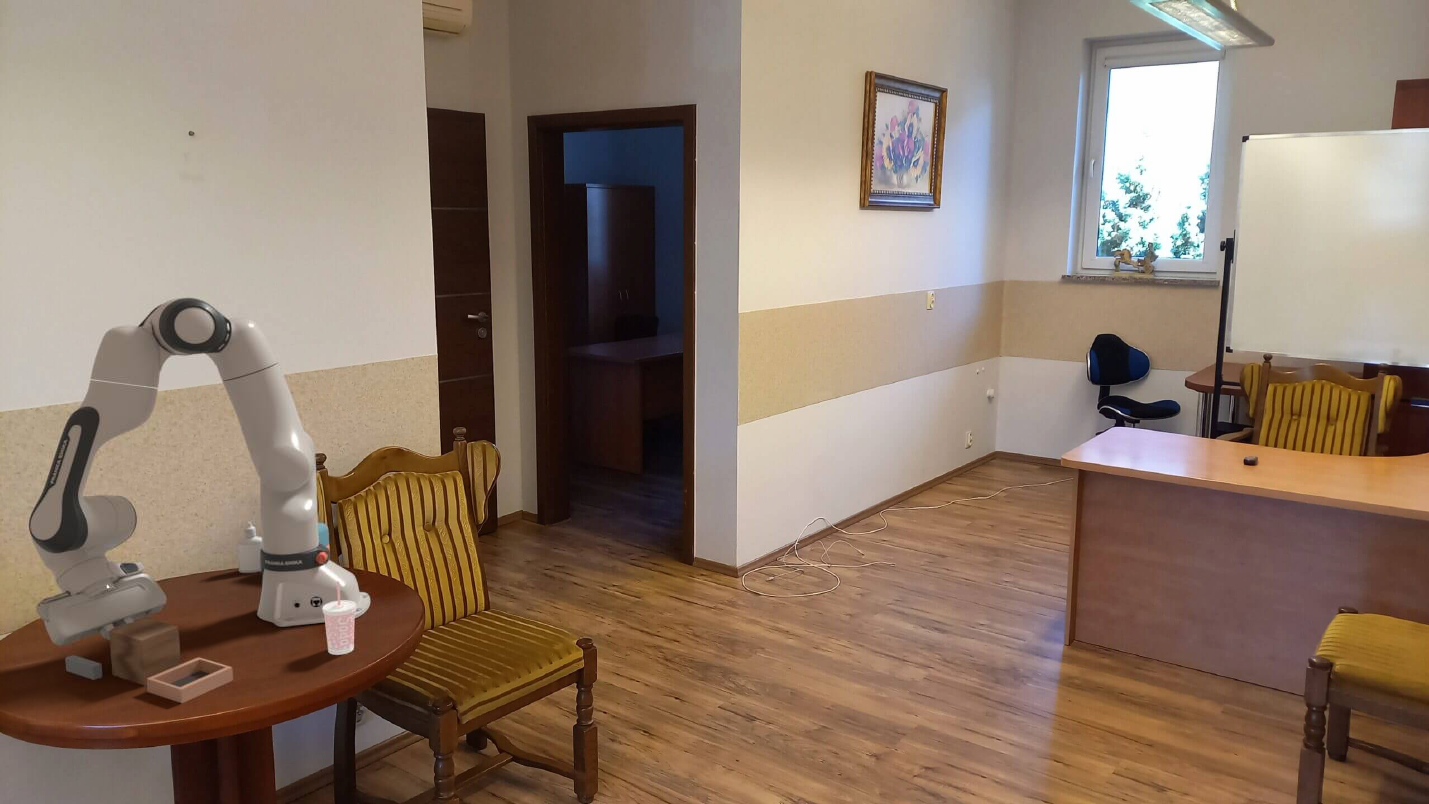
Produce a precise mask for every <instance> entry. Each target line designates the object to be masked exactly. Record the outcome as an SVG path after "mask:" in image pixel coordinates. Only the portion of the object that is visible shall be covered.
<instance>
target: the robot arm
mask: <svg viewBox="0 0 1429 804" xmlns="http://www.w3.org/2000/svg"><path fill="white" fill-rule="evenodd" d="M199 354H200V355H201V354H205V355H206V356H208V357H209V358H210V359H211V361H213V363H214V366H216V369H217V371H218V373H219V376H220V379H221V381H222V384H223V386H224V388H225V391H226V393H227V395H228V397H229V398H228V399H229V400H230V403H231V405H232V407H233V410H234V412H235V415H236V417H237V420H238V423H239V426H240V429H241V431H242V435H243V438H244V440H245V444H246V447H247V449H248V452H249V455H250V458H251V461H252V463H253V466H254V468H255V471H256V473H257V477H259V481H260V482H259V486H260V487H259V491H260V492H259V493H260V499H259V500H260V502H259V503H260V504H259V505H260V506H259V507H260V509H259V511H260V528H261V529H260V531H261V538H262V549H261V550H260V569H261V572H260V573H261V575H262V584H261V585H262V587H261V594H260V598H259V599H260V601H259V605H258V609H257V612H256V615H257V616H258V617H259V619H261V620H263V621H266V622H269V623H273V625H275V626H277V627H280V628H282V627H284V628H285V627H292V626H301V625H310V624H311V625H312V624H320V623H325V617H324V613H323V610H322V608H323V606H324V605H325V604H327V603H330V602H334V601H338V595H337V581H340V601H341V600H347V601H353V602H355V603H356V610H355V619H357V618H359V617H361V616H362V615H364V614H365V612H367V610H368V609H369V607H370V605H371V596H370V595H369V594H368V593H367V592H364V591H362V592H361V591H360V589H359V583H358V581H357V578H356V576H355V574H353V572H350V571H349V570H347V569H346V568H343V567H342V566H340V565H338V563H335V562H334V561H332V560H331V559H330V560H329V553H330V551H331V550H330V549H331V548H330V544H329V545H328V546H327V547H325V546H324V545H322V544H321V543H319V535H318V523H319V517H318V492H317V491H318V489H317V463H316V461H317V459H316V446H315V443H314V441H313V438H312V437H311V435H309V433H307V432H306V431H305V430H304V427H303V424H302V421H301V418H300V416H299V413H298V410H297V407H296V404H295V401H294V397H293V395H292V392H291V390H290V388H289V385H288V383H287V381H286V380H287V379H286V378H285V376H284V373H283V371H282V369H281V366H280V364H279V361H278V358H277V356H276V354H275V352H274V350H273V348H272V346H271V344H270V342H269V341H268V338H267V337H266V335H265V333H264V332H263V330H262V329H261V328H260V326H259V325H258V324H257V322H255V320H252V319H250V318H247V317H232V318H227V317H226V316H225V315H224V314H222V313H221V312H220V311H218V310H217V309H216V308H215V307H214V306H212V305H211V304H210V303H208V302H206V301H204V300H201V299H199V298H195V297H194V298H193V297H179V298H173V299H169V300H166V301H165V302H163V303H161V304H159V305H157V306H156V307H155V308H153V310H151V311H150V312H149V314H148V315H147V316H146V317H145V318H144V319H143V320H142V321H141V322H140V323H139V325H137V326H136V325H120V326H116V327H112V328H109V330H107V331H106V332H105V334H104V335H103V337H102V339H101V342H100V344H99V347H98V349H97V352H96V356H95V358H94V363H93V365H92V366H93V367H92V370H91V374H90V380H89V386H88V389H87V392H86V393H85V397H84V398H83V401H82V403H81V404H80V406H78V409H77V410H75V411H73V413H72V414H71V415H70V416H69V418H68V419H67V421H66V423H65V426H64V427H63V431H62V433H61V435H60V439H59V442H58V445H57V446H56V448H57V449H56V451H55V453H54V457H53V460H52V463H51V465H50V469H49V473H48V476H47V479H46V481H45V485H44V487H43V490H42V492H41V495H40V496H39V499H37V502H36V504H35V505H34V506H33V507H34V508H33V509H32V511H31V514H30V517H29V521H28V530H29V533H30V537H31V540H32V543H33V546H34V548H35V550H36V552H37V554H38V555H39V558H40V559H41V561H42V562H43V564H44V565H45V567H46V568H47V569H48V570H49V571H51V572H52V573H53V575H54V579H55V583H56V585H57V587H58V588H59V589H60V591H61V592H60V593H59V594H55V595H53V596H49V597H48V596H47V597H45V598H43V599H41V600H40V602H39V603H38V604H37V605H36V613H37V615H38V616H39V618H40V619H41V620H42V621H43V622H44V626H45V629H46V631H47V634H48V636H49V637H50V641H52V643H53V645H57V646H59V647H63V646H65V645H68V644H71V643H74V642H77V641H80V640H83V639H85V638H89V637H92V636H95V635H98V634H100V635H101V636H102V638H104V639H106V640H108V641H110V636H109V631H110V630H113V629H116V628H118V627H121V626H124V625H127V624H130V623H133V622H135V621H138V620H141V619H144V618H147V617H148V616H152V615H154V614H157V613H159V612H161V611H162V609H163V608H164V607H165V606H166V604H167V596H166V594H165V592H164V591H163V589H162V588H161V586H160V584H158V582H157V581H156V580H155V579H154V577H152V576H151V575H149V574H147V573H144V570H145V567H144V565H143V564H142V563H141V562H140V561H109V559H108V558H107V557H106V553H107V552H108V551H111V550H113V549H115V548H117V547H118V546H120V545H122V544H123V543H124V542H126V541H127V540H128V539H130V537H132V535H133V533H134V532H135V530H136V528H137V524H138V523H137V522H138V519H137V517H138V516H137V512H136V510H135V509H136V508H135V507H134V505H133V503H131V502H130V500H129V499H127V498H126V497H124V496H122V495H113V494H111V495H107V494H106V495H105V494H104V495H103V494H102V495H101V494H100V495H92V496H91V495H88V496H87V495H84V491H85V487H86V484H87V481H88V478H89V475H90V472H91V470H92V469H91V468H92V465H93V462H94V459H95V456H96V454H97V453H98V451H99V450H100V448H102V446H104V445H105V444H106V443H107V442H109V441H110V440H113V439H114V438H116V437H118V436H121V435H123V434H126V433H129V432H132V431H133V430H136V429H137V428H139V427H141V426H142V425H143V424H144V423H146V422H147V421H148V420H149V419H150V418H151V416H152V414H153V411H154V409H155V406H156V402H157V395H158V391H159V389H158V388H159V383H160V375H161V374H160V373H161V372H162V368H163V366H164V364H165V363H166V361H167V360H168V359H169V358H171V357H172V356H181V357H182V356H184V357H185V356H187V357H188V356H192V355H199Z"/></svg>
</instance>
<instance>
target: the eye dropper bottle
mask: <svg viewBox="0 0 1429 804" xmlns="http://www.w3.org/2000/svg"><path fill="white" fill-rule="evenodd" d="M243 531H244V534H243V535H244V537H242V538H241V537H240V539H239V540H238V541H237V560H238V561H237V562H238V572H239V573H241V574H252V573H253V574H254V573H259V572H260V573H261V569H260V550H261V549H262V536H258V535H257V534H256V533H257V532H256V531H257V530H256V526H253V524H252V521H248V522H247V524H246V527H244V528H243Z"/></svg>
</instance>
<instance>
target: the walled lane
mask: <svg viewBox="0 0 1429 804" xmlns="http://www.w3.org/2000/svg"><path fill="white" fill-rule="evenodd" d="M64 661H65V670H66V671H65V672H67V673H68V672H69V673H71V674H75V675H77V676H81V677H83V678H87V679H90V680H92V681H96V680H97V679H98V680H99V679H101V678H103V668H102V663H100V662H96V661H94V660H91V659H87V658H85V657H82V656H78V655H76V654H75V655H74V654H73V655H69V656H66V657H65V658H64Z"/></svg>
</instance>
